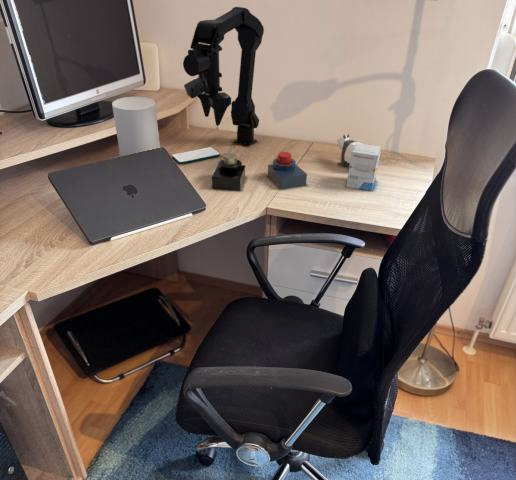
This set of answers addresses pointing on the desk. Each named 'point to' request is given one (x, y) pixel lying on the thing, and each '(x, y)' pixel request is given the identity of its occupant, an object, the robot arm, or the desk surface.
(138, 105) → the canister
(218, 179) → the light box
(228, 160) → the light button
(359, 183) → the ink box
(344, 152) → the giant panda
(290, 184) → the box
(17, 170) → the desk surface
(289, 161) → the button
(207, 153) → the smartphone
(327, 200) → the desk surface
